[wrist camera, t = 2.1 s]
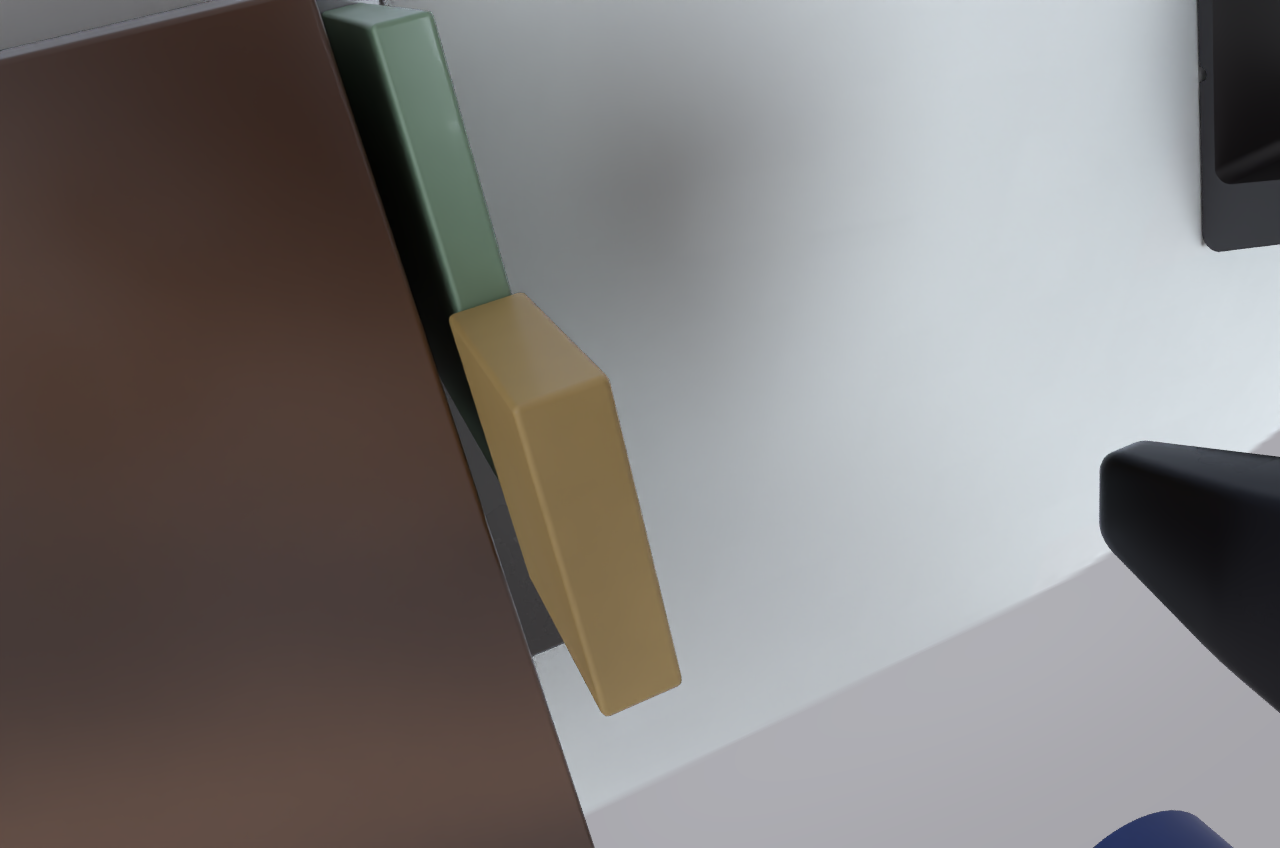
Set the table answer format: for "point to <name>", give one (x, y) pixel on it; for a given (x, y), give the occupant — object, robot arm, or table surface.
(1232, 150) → the phone stand
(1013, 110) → the table surface
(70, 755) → the cabinet
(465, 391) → the door
